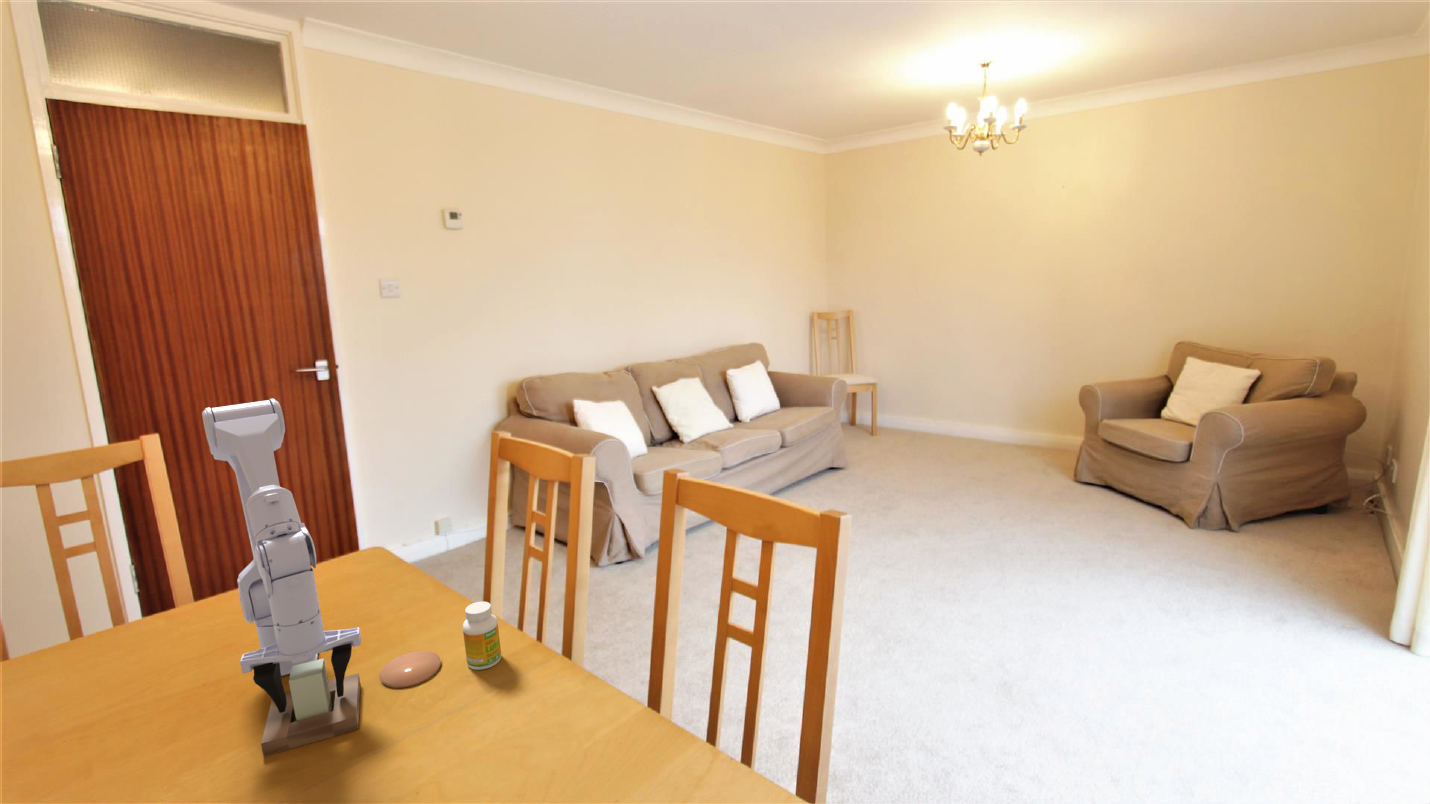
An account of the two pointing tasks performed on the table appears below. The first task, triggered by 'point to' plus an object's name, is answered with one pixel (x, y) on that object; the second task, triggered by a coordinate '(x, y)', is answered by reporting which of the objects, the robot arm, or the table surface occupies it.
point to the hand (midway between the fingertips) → (312, 700)
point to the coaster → (410, 669)
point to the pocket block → (312, 720)
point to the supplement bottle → (481, 636)
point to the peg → (310, 689)
